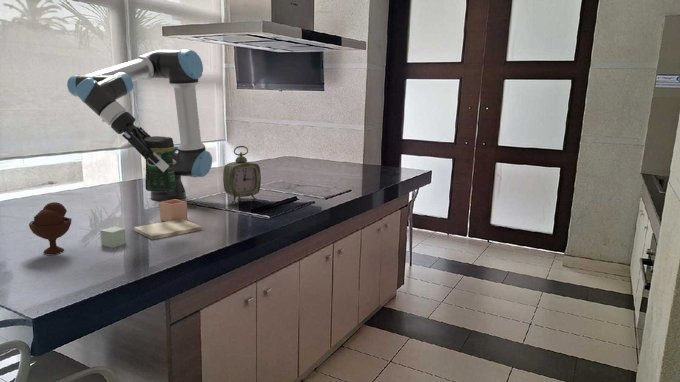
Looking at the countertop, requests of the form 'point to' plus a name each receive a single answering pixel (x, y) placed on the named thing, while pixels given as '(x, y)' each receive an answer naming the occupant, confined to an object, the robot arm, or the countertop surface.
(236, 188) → the tabletop clock
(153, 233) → the birch board
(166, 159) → the coffee jar
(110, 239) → the grey-green block
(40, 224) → the ice cream bowl
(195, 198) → the countertop surface
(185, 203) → the terracotta cup
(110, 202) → the countertop surface
